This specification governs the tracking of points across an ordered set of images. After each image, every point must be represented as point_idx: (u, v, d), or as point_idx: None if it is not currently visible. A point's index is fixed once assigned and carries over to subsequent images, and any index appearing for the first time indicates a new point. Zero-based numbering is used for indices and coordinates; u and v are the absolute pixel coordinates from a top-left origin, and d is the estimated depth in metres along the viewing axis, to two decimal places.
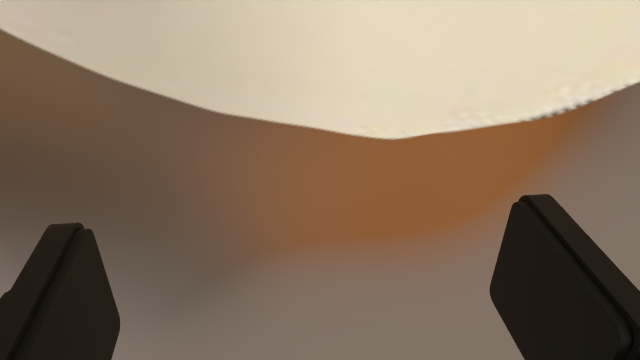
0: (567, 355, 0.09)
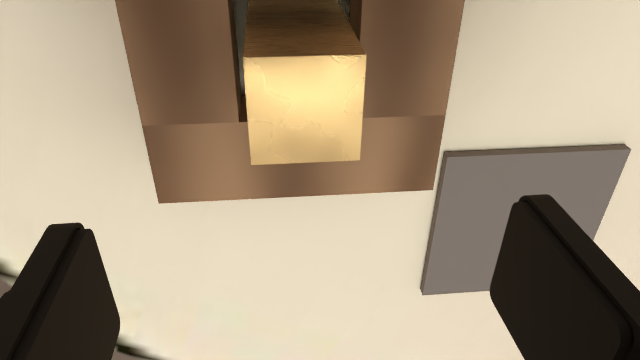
0: (567, 355, 0.09)
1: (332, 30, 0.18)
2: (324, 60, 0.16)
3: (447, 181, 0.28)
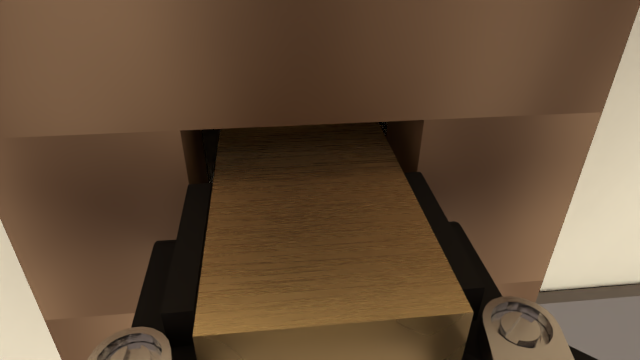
0: None
1: (379, 204, 0.09)
2: (380, 327, 0.07)
3: None
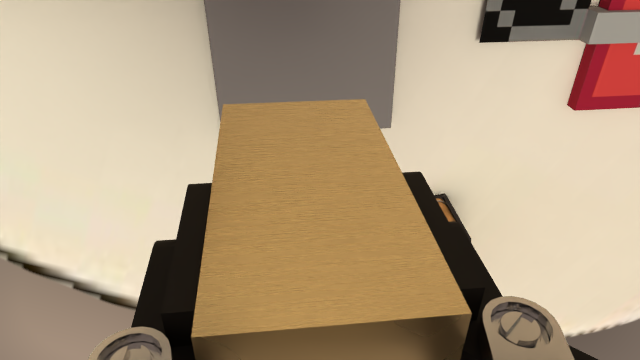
0: None
1: (377, 205, 0.09)
2: (379, 327, 0.07)
3: None
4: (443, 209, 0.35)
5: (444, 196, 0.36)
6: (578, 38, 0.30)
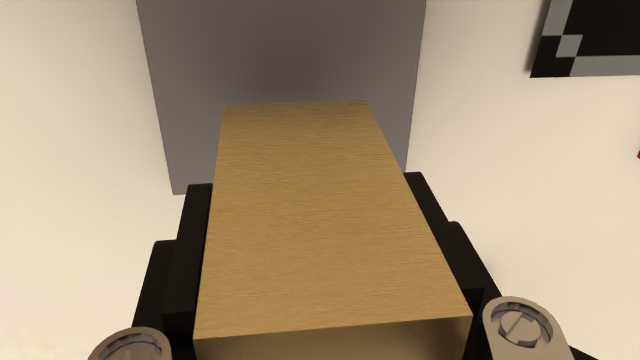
0: None
1: (379, 207, 0.09)
2: (379, 329, 0.07)
3: None
4: None
5: None
6: None
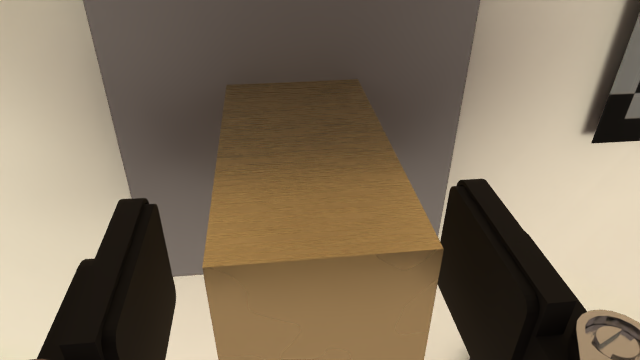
0: (490, 328, 0.09)
1: (365, 167, 0.10)
2: (363, 261, 0.08)
3: (99, 25, 0.13)
4: None
5: None
6: None
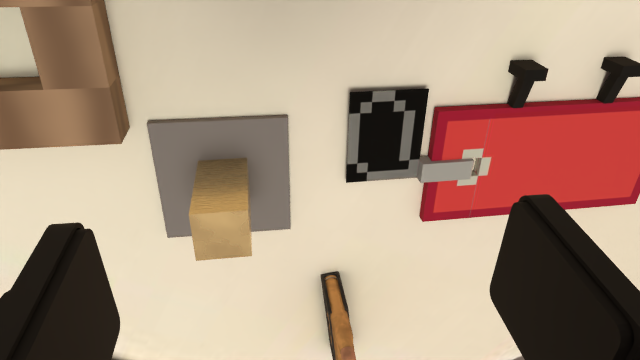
0: (567, 355, 0.09)
1: (236, 190, 0.36)
2: (227, 213, 0.33)
3: (153, 142, 0.38)
4: (334, 284, 0.47)
5: (336, 273, 0.48)
6: (416, 176, 0.44)
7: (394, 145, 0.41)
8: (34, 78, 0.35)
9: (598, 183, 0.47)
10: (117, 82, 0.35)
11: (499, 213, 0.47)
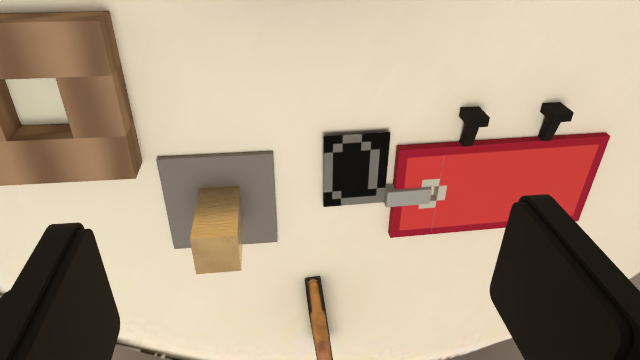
0: (567, 355, 0.09)
1: (229, 217, 0.44)
2: (221, 238, 0.41)
3: (162, 174, 0.46)
4: (315, 287, 0.55)
5: (318, 278, 0.56)
6: (383, 200, 0.51)
7: (363, 176, 0.49)
8: (65, 125, 0.43)
9: None
10: (132, 128, 0.43)
11: (457, 230, 0.54)
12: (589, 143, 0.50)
